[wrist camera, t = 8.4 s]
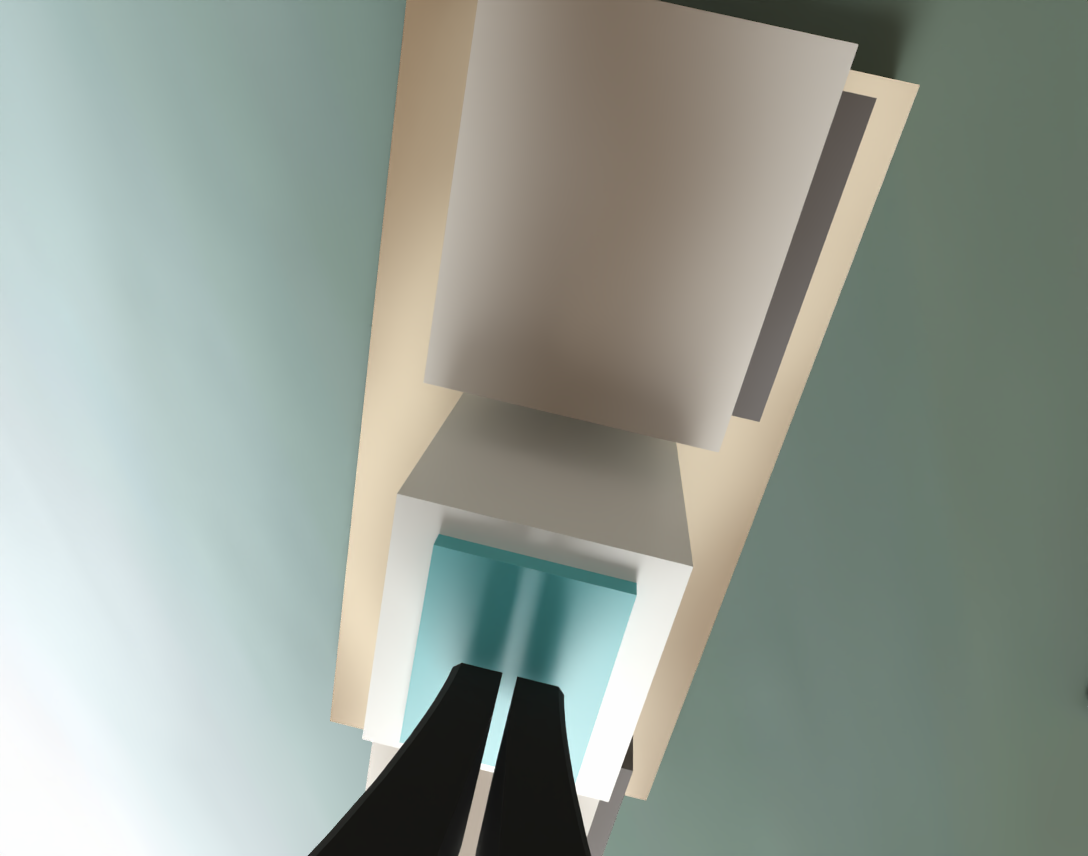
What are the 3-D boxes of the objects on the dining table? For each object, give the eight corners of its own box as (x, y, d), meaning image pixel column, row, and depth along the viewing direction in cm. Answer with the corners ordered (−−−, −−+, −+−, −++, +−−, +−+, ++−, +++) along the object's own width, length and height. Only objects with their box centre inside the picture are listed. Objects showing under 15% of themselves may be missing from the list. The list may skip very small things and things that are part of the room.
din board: (892, 89, 15) (1062, 60, 9) (645, 760, 23) (649, 974, 17) (430, -13, 15) (301, -106, 9) (348, 685, 23) (252, 871, 17)
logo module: (672, 413, 15) (694, 578, 10) (616, 592, 18) (607, 818, 12) (480, 367, 16) (390, 503, 10) (447, 550, 18) (355, 753, 12)
